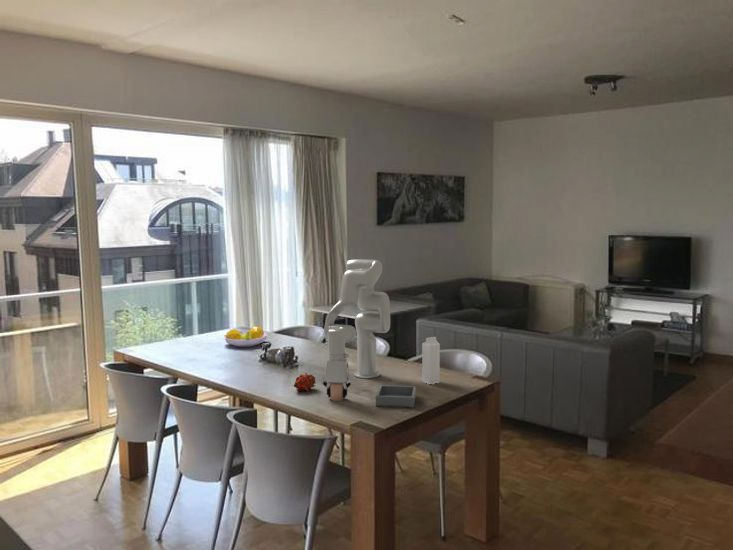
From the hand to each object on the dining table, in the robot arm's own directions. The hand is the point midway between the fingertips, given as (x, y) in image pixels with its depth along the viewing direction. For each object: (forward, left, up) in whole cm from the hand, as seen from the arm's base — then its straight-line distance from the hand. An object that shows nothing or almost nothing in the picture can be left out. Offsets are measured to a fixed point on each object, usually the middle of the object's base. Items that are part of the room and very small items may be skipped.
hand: (337, 396), depth 260 cm
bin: (0, +26, -1) cm, 26 cm away
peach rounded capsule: (0, 0, -1) cm, 1 cm away
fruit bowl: (-95, -75, -1) cm, 121 cm away
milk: (-29, +40, -1) cm, 49 cm away
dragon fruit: (-10, -17, -1) cm, 20 cm away
